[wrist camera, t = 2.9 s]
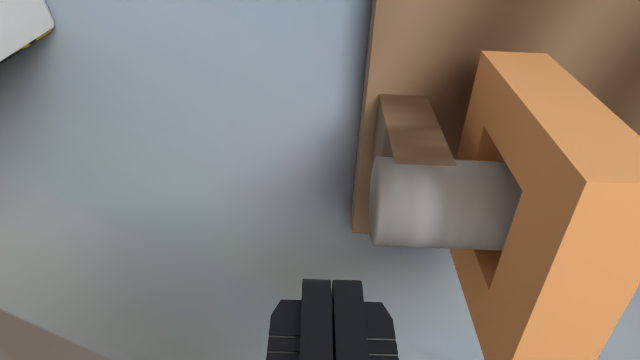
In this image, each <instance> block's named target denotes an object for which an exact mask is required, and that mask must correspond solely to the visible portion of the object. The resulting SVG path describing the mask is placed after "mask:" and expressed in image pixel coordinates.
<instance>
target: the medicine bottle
mask: <svg viewBox="0 0 640 360" xmlns="http://www.w3.org/2000/svg"><path fill="white" fill-rule="evenodd" d="M54 26H55V24H54V20H53V18H52V15H51V13H50V11H49V9H48V6H47V4H46V2H45V0H0V64H2V63H3V62H5V61H6V60H8V59H10V58H11V57H13V56H14V55H16V54H17V53H19V52H20V51H22V50H23V49H25V48H27V47H28V46H30V45H31V44H33V43H34V42H36V41H37V40H39V39H40V38H42V37H43V36H45V35H47V34H48V33H50V32H51V31H52V30H53V28H54Z"/></svg>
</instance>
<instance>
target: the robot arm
mask: <svg viewBox="0 0 640 360" xmlns="http://www.w3.org/2000/svg"><path fill="white" fill-rule="evenodd" d="M395 339H396V338H395V331H394V325H393V319H392V318H391V316H390V314H389V313H388V311H387V310H386V308H385V307H384V305H383V304H382V302H364V299H363V289H362V282H361V281H355V280H333V281H332V292H331V280H318V279H303V283H302V300H280V302H279V304H278V305H277V307H276V308H275V310H274V312H273V313H272V315H271V320H270V329H269V339H268V348H267V358H266V360H399V358H398V350H397V344H396V341H395Z"/></svg>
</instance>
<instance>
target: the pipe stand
mask: <svg viewBox="0 0 640 360" xmlns="http://www.w3.org/2000/svg"><path fill="white" fill-rule="evenodd" d="M481 51H502V52H524V53H546V54H548V55H549V56H550V57H552V58H553V59H554V60H555V61H556V62H557V63H558V64H559V65H561V66H562V67H563V68H564V69H565V70H566V71H567V72H568V73H570V74H571V75H572V76H573V77H574V78H575V79H576V80H577V81H578V82H580V83H581V84H582V85H583V86H584V87H585V88H586V89H587V90H589V91H590V92H591V93H592V94H593V95H594V96H595V97H596V98H598V99H599V100H600V101H601V102H602V103H603V104H604V105H605V106H607V107H608V108H609V109H610V110H611V111H612V112H613V113H614V114H616V115H617V116H618V117H619V118H620V119H621V120H622V121H623V122H624V123H626V124H627V125H628V126H629V127H630V128H631V129H632V130H633V131H635V132H636V133H637V134H638V135H639V136H640V0H372V9H371V19H370V29H369V39H368V49H367V59H366V69H365V80H364V90H363V100H362V110H361V120H360V130H359V140H358V150H357V160H356V170H355V180H354V190H353V200H352V210H351V220H352V233H370V237H371V242H372V245H373V246H396V247H423V248H450V249H477V250H503V248H504V245H505V242H506V239H507V236H508V233H509V230H510V227H511V224H512V221H513V218H514V215H515V212H516V209H517V206H518V203H519V200H520V197H521V194H522V189H521V188H520V186H519V184H518V182H517V181H516V179H515V177H514V176H513V174H512V172H511V171H510V169H509V167H508V166H507V164H506V162H498V161H473V160H456V158H457V154H458V149H459V145H460V141H461V136H462V132H463V128H464V124H465V119H466V115H467V111H468V106H469V102H470V98H471V93H472V89H473V85H474V81H475V76H476V72H477V68H478V63H479V59H480V55H481Z"/></svg>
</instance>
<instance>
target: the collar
mask: <svg viewBox="0 0 640 360" xmlns="http://www.w3.org/2000/svg"><path fill="white" fill-rule="evenodd" d="M456 160H473V161H498V162H506V164H507V166H508V167H509V169H510V171H511V172H512V174H513V176H514V177H515V179H516V181H517V182H518V184H519V186H520V188H521V189H522V194H521V197H520V200H519V203H518V206H517V209H516V212H515V215H514V218H513V221H512V224H511V227H510V230H509V233H508V236H507V239H506V242H505V245H504V248H503V250H477V249H450V248H449V249H450V252H451V255H452V258H453V261H454V265H455V268H456V271H457V274H458V277H459V280H460V283H461V287H462V290H463V293H464V296H465V299H466V302H467V305H468V309H469V312H470V315H471V318H472V321H473V324H474V327H475V330H476V334H477V337H478V340H479V343H480V346H481V349H482V352H483V356H484V359H485V360H597V358H598V356H599V354H600V353H601V351H602V349H603V347H604V346H605V344H606V342H607V340H608V339H609V337H610V335H611V333H612V332H613V330H614V328H615V326H616V325H617V323H618V321H619V319H620V318H621V316H622V314H623V312H624V311H625V309H626V307H627V305H628V304H629V302H630V300H631V298H632V297H633V295H634V293H635V291H636V290H637V288H638V286H639V284H640V136H639V135H638V134H637V133H636V132H635V131H633V130H632V129H631V128H630V127H629V126H628V125H627V124H626V123H624V122H623V121H622V120H621V119H620V118H619V117H618V116H617V115H616V114H614V113H613V112H612V111H611V110H610V109H609V108H608V107H607V106H605V105H604V104H603V103H602V102H601V101H600V100H599V99H598V98H596V97H595V96H594V95H593V94H592V93H591V92H590V91H589V90H587V89H586V88H585V87H584V86H583V85H582V84H581V83H580V82H578V81H577V80H576V79H575V78H574V77H573V76H572V75H571V74H570V73H568V72H567V71H566V70H565V69H564V68H563V67H562V66H561V65H559V64H558V63H557V62H556V61H555V60H554V59H553V58H552V57H550V56H549V55H548V54H546V53H524V52H502V51H481V55H480V59H479V63H478V68H477V72H476V76H475V81H474V85H473V89H472V93H471V98H470V102H469V106H468V111H467V115H466V119H465V124H464V128H463V132H462V136H461V141H460V145H459V149H458V154H457V158H456Z"/></svg>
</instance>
